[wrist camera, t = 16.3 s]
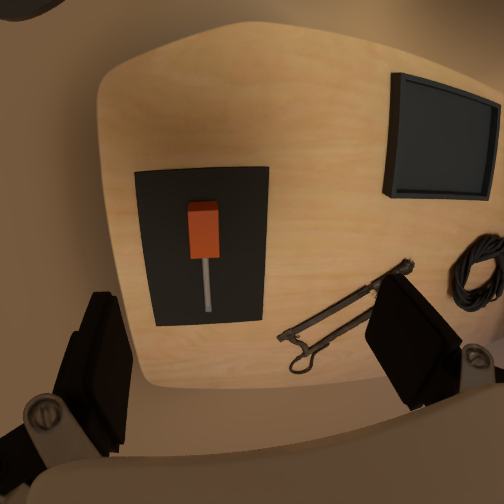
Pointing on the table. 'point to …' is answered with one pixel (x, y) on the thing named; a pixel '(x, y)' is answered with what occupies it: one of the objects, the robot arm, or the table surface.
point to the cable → (478, 253)
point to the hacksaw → (289, 334)
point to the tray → (439, 141)
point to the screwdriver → (204, 238)
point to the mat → (230, 243)
